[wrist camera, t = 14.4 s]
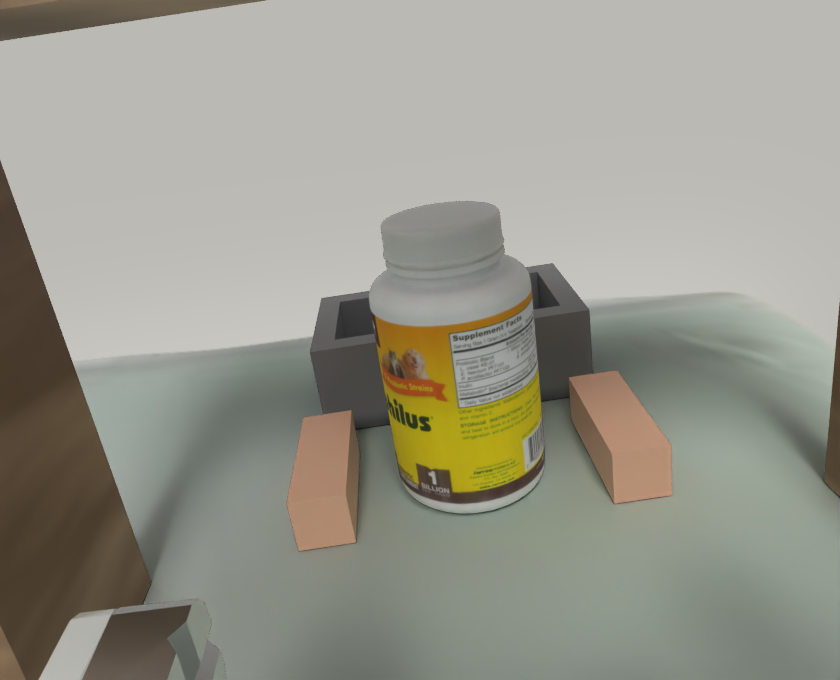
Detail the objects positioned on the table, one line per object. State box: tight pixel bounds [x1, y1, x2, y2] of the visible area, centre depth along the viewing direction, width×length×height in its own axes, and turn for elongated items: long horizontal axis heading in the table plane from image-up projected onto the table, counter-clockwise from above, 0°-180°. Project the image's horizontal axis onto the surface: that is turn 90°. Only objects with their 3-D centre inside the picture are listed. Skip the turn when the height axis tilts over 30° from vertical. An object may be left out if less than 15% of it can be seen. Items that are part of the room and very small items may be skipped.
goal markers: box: [286, 370, 672, 551], centre depth 27 cm, size 13×6×2 cm, turn 93°
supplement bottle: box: [369, 201, 545, 513], centre depth 26 cm, size 6×6×10 cm
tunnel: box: [0, 0, 840, 680], centre depth 18 cm, size 26×7×19 cm, turn 93°
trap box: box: [310, 263, 593, 429], centre depth 35 cm, size 12×7×4 cm, turn 93°
